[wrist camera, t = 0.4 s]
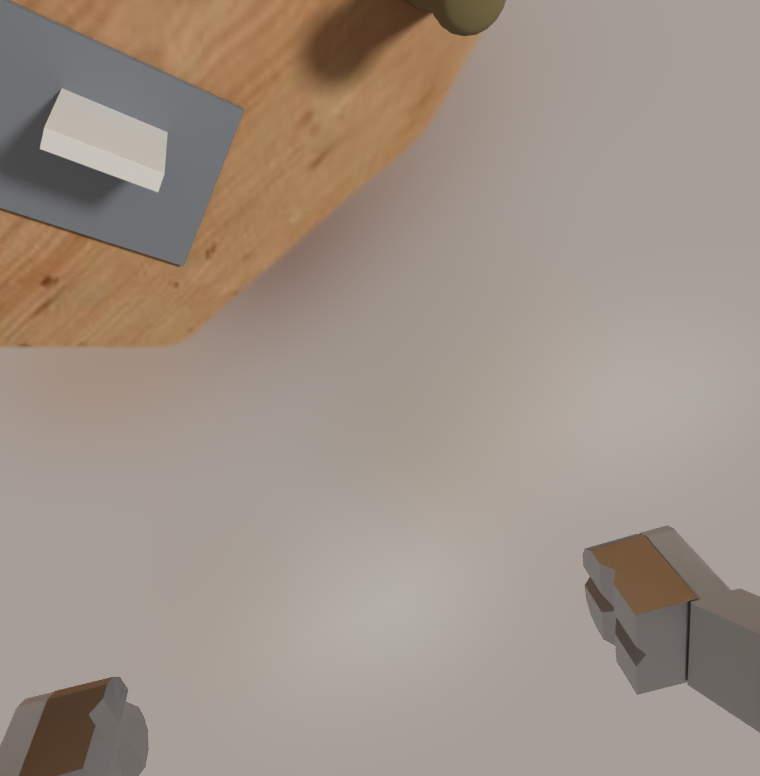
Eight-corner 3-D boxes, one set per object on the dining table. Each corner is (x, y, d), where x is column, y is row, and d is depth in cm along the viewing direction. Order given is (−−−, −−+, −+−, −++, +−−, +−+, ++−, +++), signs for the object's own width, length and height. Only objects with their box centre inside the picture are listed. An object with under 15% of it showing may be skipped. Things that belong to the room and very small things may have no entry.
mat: (-3, -5, 43) (-5, -3, 43) (243, 108, 52) (243, 111, 51) (-33, 193, 52) (-35, 196, 51) (183, 263, 60) (183, 266, 60)
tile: (61, 88, 48) (44, 127, 42) (167, 132, 51) (164, 173, 46) (57, 109, 48) (39, 150, 43) (161, 151, 52) (157, 194, 47)
